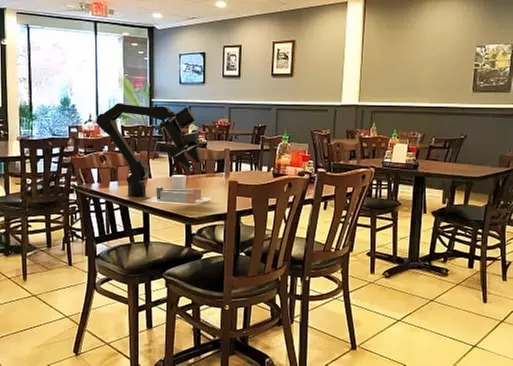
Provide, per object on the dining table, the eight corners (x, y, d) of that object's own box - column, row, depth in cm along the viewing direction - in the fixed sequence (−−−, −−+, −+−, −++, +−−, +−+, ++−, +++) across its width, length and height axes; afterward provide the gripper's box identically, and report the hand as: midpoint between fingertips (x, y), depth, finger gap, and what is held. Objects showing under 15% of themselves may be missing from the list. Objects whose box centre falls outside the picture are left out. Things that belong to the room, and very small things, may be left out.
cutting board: (141, 202, 209) (141, 200, 209) (163, 195, 226) (163, 194, 226) (195, 206, 201) (195, 205, 201) (213, 199, 218) (213, 198, 218)
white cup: (175, 191, 237) (175, 176, 236) (169, 190, 243) (168, 175, 242) (189, 190, 241) (189, 175, 240) (182, 188, 247) (182, 174, 246)
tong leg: (156, 198, 214) (156, 188, 213) (156, 197, 216) (156, 187, 216) (200, 198, 217) (201, 187, 217) (200, 197, 220) (200, 186, 219)
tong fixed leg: (160, 200, 211) (160, 191, 211) (162, 199, 213) (162, 190, 213) (193, 202, 207) (193, 193, 206) (195, 201, 209) (195, 193, 208)
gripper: (180, 127, 206) (200, 161, 207) (199, 120, 223) (217, 151, 224) (159, 140, 210) (179, 173, 211) (179, 132, 227) (198, 163, 228)
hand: (194, 165), depth 218 cm, fingers open, 9 cm apart
